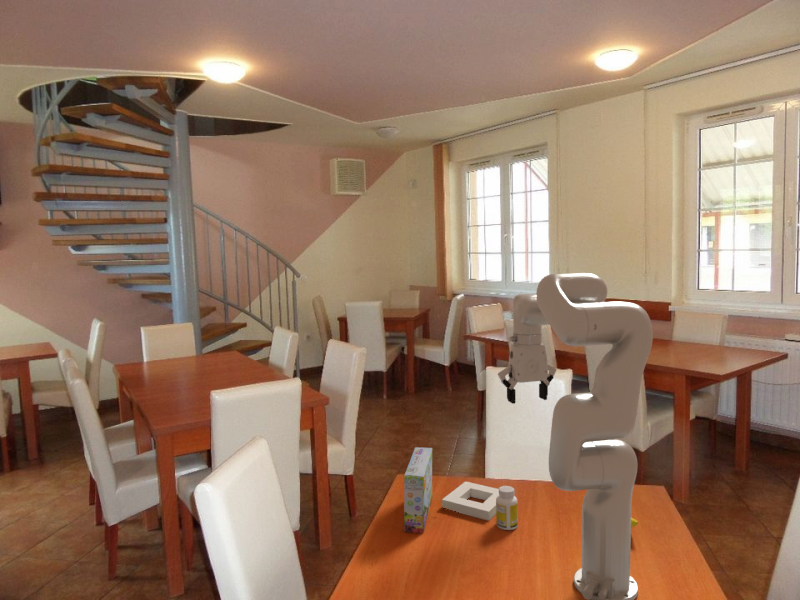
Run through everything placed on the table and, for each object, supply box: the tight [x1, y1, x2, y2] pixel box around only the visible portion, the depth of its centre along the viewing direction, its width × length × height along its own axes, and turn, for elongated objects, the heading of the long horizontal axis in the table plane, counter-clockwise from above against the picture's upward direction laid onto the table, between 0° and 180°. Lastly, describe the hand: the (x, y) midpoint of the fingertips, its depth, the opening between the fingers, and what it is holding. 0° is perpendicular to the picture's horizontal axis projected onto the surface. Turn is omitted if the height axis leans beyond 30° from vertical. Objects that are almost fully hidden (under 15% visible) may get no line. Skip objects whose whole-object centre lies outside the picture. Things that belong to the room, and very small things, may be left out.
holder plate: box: [441, 481, 499, 521], centre depth 160 cm, size 14×14×2 cm
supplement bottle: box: [495, 485, 519, 531], centre depth 148 cm, size 5×5×10 cm
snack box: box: [403, 447, 433, 534], centre depth 155 cm, size 21×6×15 cm, turn 171°
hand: (527, 400), depth 160 cm, fingers open, 9 cm apart
